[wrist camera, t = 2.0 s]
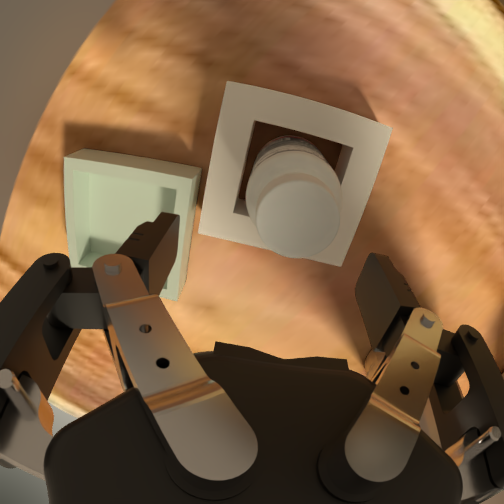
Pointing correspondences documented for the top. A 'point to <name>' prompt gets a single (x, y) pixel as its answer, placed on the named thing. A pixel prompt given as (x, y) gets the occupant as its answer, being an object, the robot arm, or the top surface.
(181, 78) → the top surface
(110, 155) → the parts tray
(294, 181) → the pill bottle
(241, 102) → the socket block
